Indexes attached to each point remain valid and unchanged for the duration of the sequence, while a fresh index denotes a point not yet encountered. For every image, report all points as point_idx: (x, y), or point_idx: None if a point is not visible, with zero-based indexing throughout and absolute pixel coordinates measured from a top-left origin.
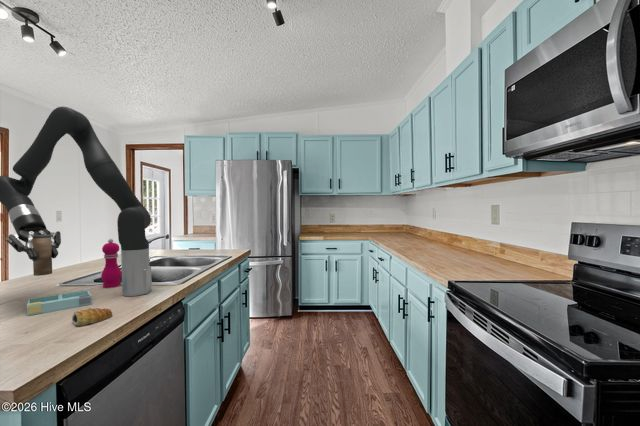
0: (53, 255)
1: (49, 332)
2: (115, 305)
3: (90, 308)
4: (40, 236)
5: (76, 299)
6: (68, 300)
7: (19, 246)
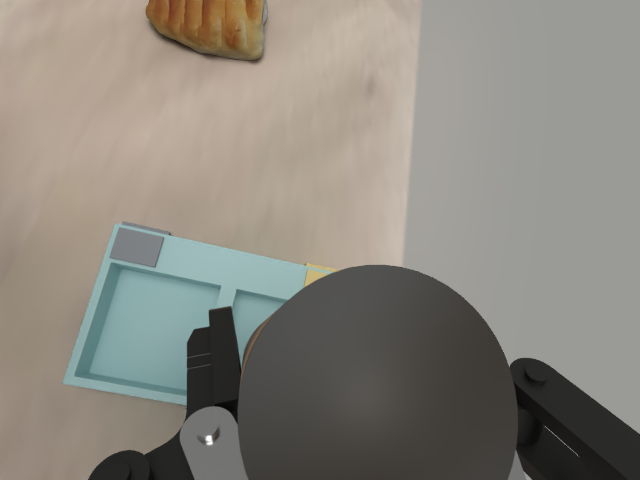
0: (235, 332)
1: (329, 31)
2: (75, 123)
3: (210, 4)
4: (417, 279)
5: (178, 239)
6: (209, 245)
7: (552, 369)
